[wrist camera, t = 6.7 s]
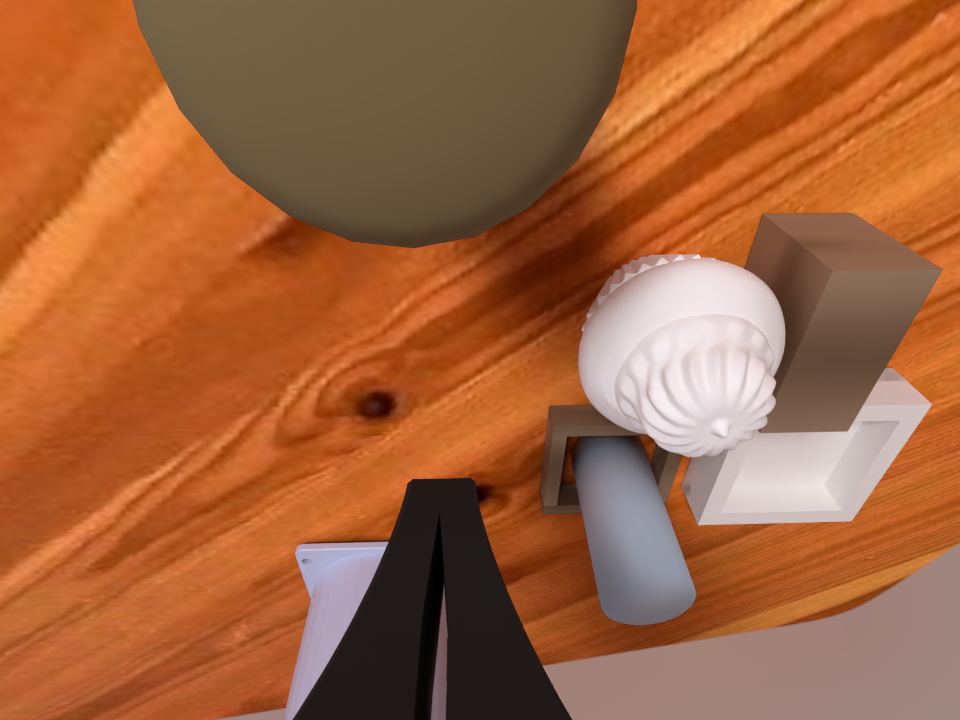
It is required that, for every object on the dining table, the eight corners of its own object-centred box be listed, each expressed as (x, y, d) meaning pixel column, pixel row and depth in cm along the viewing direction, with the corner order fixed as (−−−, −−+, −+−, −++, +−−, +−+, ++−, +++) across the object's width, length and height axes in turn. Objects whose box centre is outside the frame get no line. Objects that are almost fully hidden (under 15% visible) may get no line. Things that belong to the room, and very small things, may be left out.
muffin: (529, 336, 20) (561, 484, 14) (616, 184, 16) (703, 301, 11) (665, 381, 21) (742, 529, 16) (769, 251, 18) (913, 382, 12)
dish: (824, 482, 25) (851, 521, 24) (681, 486, 25) (698, 525, 24) (892, 368, 21) (932, 404, 20) (722, 370, 21) (746, 407, 19)
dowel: (638, 474, 24) (688, 623, 19) (569, 478, 25) (597, 626, 19) (646, 423, 23) (703, 570, 17) (571, 427, 23) (603, 574, 17)
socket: (655, 490, 25) (662, 511, 24) (539, 493, 25) (542, 514, 24) (682, 403, 22) (692, 423, 21) (549, 405, 22) (553, 426, 21)
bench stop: (787, 360, 21) (848, 431, 18) (713, 361, 21) (759, 433, 18) (852, 213, 17) (943, 269, 14) (762, 213, 17) (832, 271, 14)
